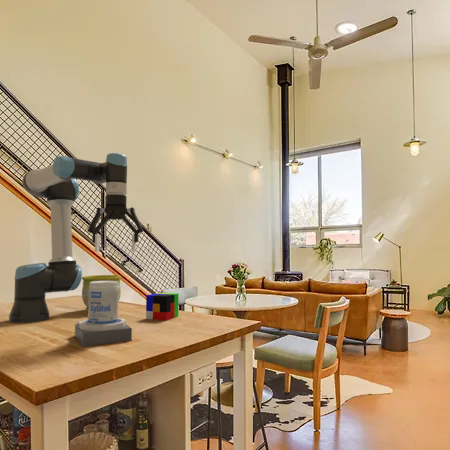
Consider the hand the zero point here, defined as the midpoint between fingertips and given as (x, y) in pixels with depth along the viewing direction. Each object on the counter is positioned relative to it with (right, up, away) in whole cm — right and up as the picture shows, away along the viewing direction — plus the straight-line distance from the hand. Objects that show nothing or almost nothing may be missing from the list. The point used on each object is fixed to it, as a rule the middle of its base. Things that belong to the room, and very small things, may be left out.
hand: (115, 251), depth 139 cm
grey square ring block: (0, -28, -15) cm, 31 cm away
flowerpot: (-19, -32, +40) cm, 55 cm away
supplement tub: (0, -24, -14) cm, 28 cm away
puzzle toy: (+14, -30, +22) cm, 40 cm away
